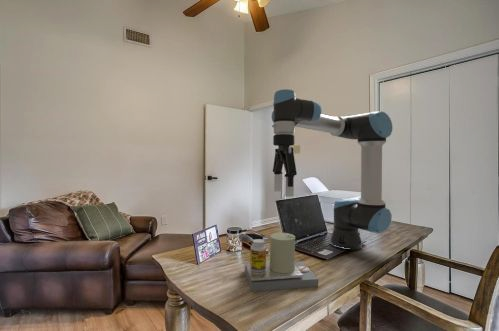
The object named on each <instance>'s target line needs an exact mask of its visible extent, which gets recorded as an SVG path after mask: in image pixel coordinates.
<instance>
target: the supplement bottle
mask: <svg viewBox="0 0 499 331" xmlns="http://www.w3.org/2000/svg"><path fill="white" fill-rule="evenodd" d="M266 261H267V246H265V241H264V239H261V238H259V239H258V238H257V239H253V241H252V244H251V246H250V261H249V262H250V268H251V270H252V271H255V272H262V271H264V270H265V269H266Z"/></svg>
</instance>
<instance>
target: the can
mask: <svg viewBox="0 0 499 331" xmlns="http://www.w3.org/2000/svg"><path fill="white" fill-rule="evenodd" d="M269 239H270V240H269V261H270V266H269V268H270V269H271V270H272V271H274V272H277V273H290V272H293V271H294V270H295V262H296V260H295V257H296V252H295V251H296V236H295V235H294V234H292V233H288V232H274V233H271V234H270V235H269Z"/></svg>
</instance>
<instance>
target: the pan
mask: <svg viewBox="0 0 499 331" xmlns="http://www.w3.org/2000/svg"><path fill="white" fill-rule="evenodd" d="M245 265H246V268H247V270H248V273H249V276H250V279H251V281H258V280H271V279H285V278H299V277H303V274H302V273H301V272H300V271H299V270H298V268H297V267H296V266H295V270H294V271H293V272H290V273H277V272H274V271H272V270H271V269H270V268H269V266H270V260H266V269H265V270H264V271H262V272H255V271H252V270H251V268H250V261H249V262H247V261H245V264H244V266H245Z"/></svg>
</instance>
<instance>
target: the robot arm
mask: <svg viewBox="0 0 499 331" xmlns="http://www.w3.org/2000/svg"><path fill="white" fill-rule="evenodd" d="M296 97H297V96H296V92H295V91H294V90H292V89H288V88H287V89H279V90H277V91H275V93H274V96H273V111H272V112H271V120H272V122H273V124H272V125H271V126H272V128H273V134H274V135H273V136H272V138H273V141H272V144H273V146H275V147H276V146H277V147H278V148H275V150H274V160H273V166H272V172H273V174H274V177H273V179H274V180H273V181H274V182H273V183H274V184H273V185H274V186H273V191H274V192H282V189H283V188H282V182H283V180H282V176H283V171H282V170H283V167H284V171H285V174H284V180H285V181H284V183H285V184H284V186H285V187H284V196H285V197H289V198H290V197H291V198H292V197H294V188H295V187H294V186H295V176H297V167H296V160H295V155H294V147H293V146H294V145H295V135H294V134H295V132H296V128H301V129H307V130H313V131H319V132H324V133H328V134H330V135H331V136H333V137H338V138H342V139H347V140H357V144H358V145H360V148H361V150H360V151H361V152H360V198H359V199H337V200H336V201H334V204H333V230H332V233H331V235H330V238H329V244H330V243H332V244H333V245H336V246H339V247H344V248H350V250H349V251H358V250H361V249H362V247H363V241H362V239H361V236H360V233H359V230H362V231H366V232H369V233H371V234H372V233H375V234H383V233H384V232H386V231H387V230H388V229H389V227H390V225H391V223H392V213H391V210H390V209H389V208H387V207H386V202H385V201H384V200H383V199H382V198H383V197H382V196H383V145H384V144H386V143H387V138H388V137H390V136H391V135H392V133H393V122H392V120H391V118H390V116H389V115H388V113H386V112H385V111H382V110H381V111H371V112H366V113H360V114H355V115H349V116H341V115H336V116H330V115H325V114H322V105H321V104H320V103H319V102H317V101H314V100H308V99H302V98H296Z"/></svg>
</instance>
